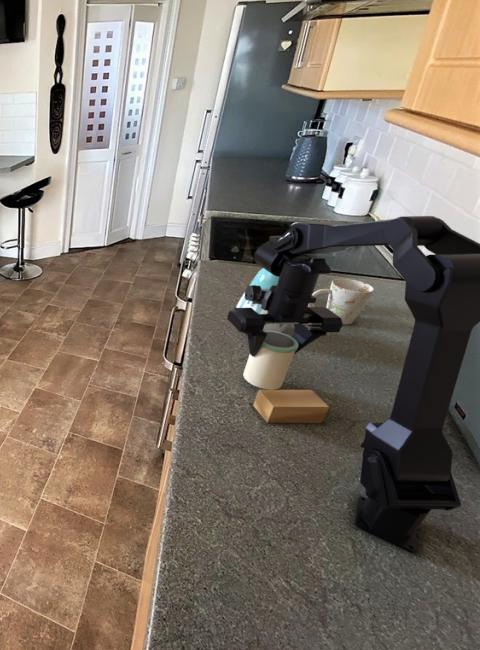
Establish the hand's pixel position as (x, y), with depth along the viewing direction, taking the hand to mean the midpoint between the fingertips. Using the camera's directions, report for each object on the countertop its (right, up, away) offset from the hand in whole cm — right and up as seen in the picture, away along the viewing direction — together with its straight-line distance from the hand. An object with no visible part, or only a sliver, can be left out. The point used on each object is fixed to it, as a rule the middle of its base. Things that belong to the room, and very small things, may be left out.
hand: (270, 355), depth 89 cm
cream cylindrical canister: (0, -7, -1) cm, 7 cm away
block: (0, -11, -5) cm, 12 cm away
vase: (+12, +4, +22) cm, 26 cm away
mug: (+34, +7, +27) cm, 44 cm away
